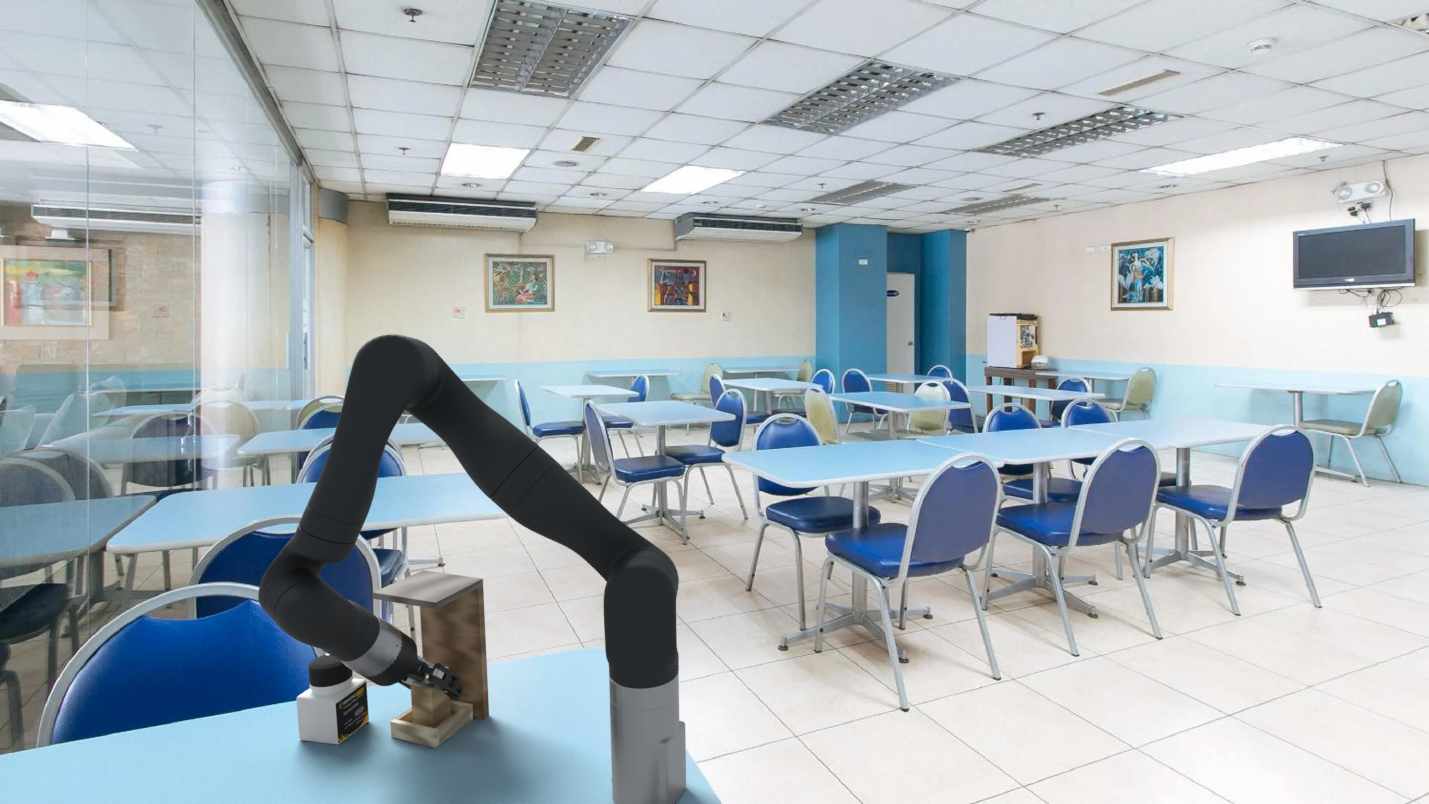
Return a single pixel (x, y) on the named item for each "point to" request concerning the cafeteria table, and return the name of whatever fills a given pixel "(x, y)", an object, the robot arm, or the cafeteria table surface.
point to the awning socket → (446, 646)
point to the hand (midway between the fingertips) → (437, 688)
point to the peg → (429, 706)
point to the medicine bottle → (331, 702)
